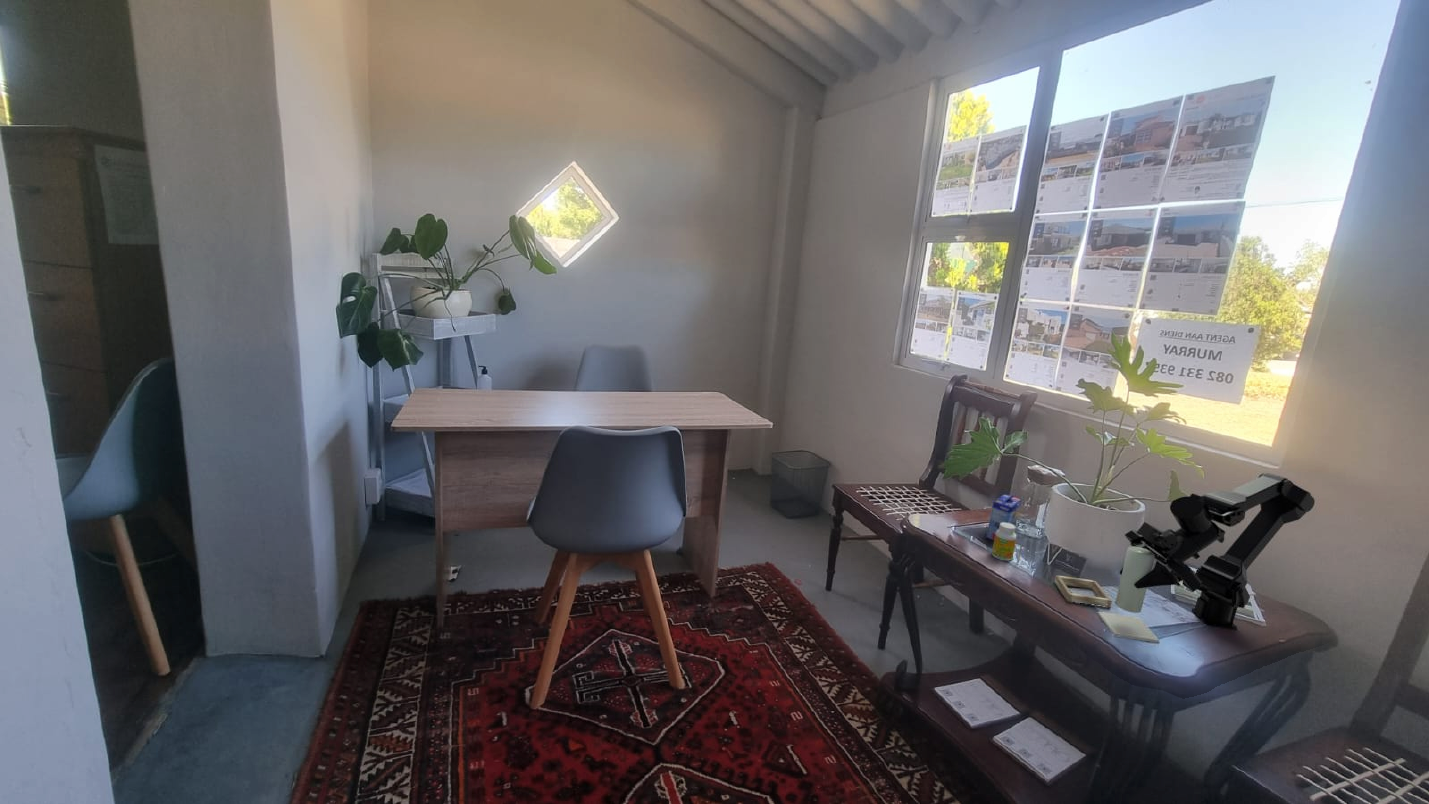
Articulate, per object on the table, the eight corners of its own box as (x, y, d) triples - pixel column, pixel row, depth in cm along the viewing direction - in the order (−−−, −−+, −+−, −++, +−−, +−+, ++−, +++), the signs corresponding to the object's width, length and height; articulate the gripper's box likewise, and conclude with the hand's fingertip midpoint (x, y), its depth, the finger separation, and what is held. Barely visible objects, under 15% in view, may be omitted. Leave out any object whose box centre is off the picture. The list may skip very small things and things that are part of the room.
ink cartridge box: (1004, 544, 174) (1012, 499, 171) (985, 538, 178) (993, 494, 174) (1015, 535, 181) (1023, 491, 178) (996, 529, 185) (1004, 486, 181)
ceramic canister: (1135, 602, 137) (1148, 548, 134) (1145, 614, 132) (1159, 558, 129) (1111, 599, 138) (1123, 545, 135) (1120, 610, 133) (1133, 555, 130)
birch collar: (1094, 587, 152) (1095, 580, 152) (1110, 608, 143) (1112, 600, 142) (1054, 581, 154) (1055, 575, 153) (1067, 601, 145) (1069, 594, 144)
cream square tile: (1139, 619, 138) (1139, 617, 138) (1158, 642, 130) (1159, 640, 130) (1097, 613, 140) (1097, 611, 140) (1114, 636, 132) (1114, 633, 132)
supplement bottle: (993, 558, 165) (998, 527, 163) (990, 550, 170) (996, 519, 168) (1013, 562, 163) (1019, 531, 161) (1010, 554, 168) (1016, 523, 166)
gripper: (1141, 498, 138) (1084, 537, 141) (1200, 533, 120) (1133, 577, 123) (1168, 531, 140) (1111, 569, 143) (1230, 570, 122) (1163, 613, 125)
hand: (1127, 580), depth 133 cm, fingers closed on ceramic canister, 5 cm apart
